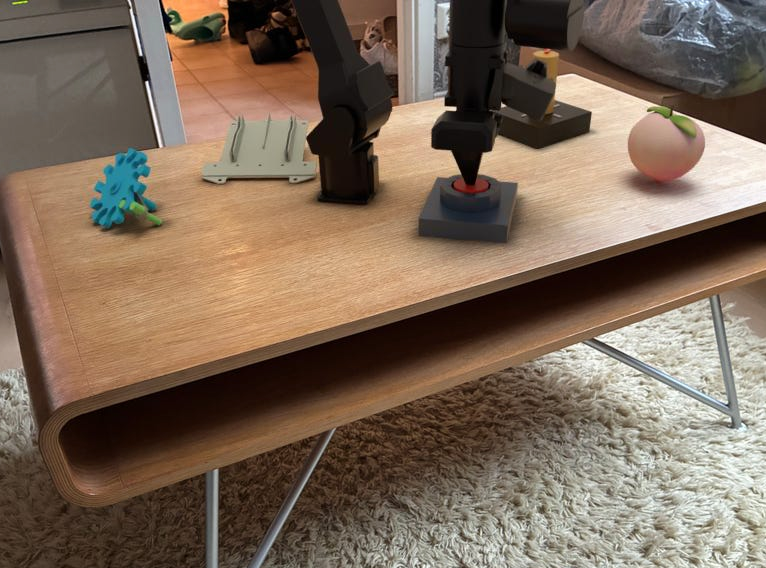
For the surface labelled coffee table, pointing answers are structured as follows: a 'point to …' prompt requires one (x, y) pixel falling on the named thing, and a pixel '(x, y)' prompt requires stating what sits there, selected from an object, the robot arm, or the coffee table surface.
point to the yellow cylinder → (549, 69)
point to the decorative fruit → (665, 144)
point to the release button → (471, 186)
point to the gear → (123, 191)
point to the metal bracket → (263, 151)
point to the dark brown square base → (544, 125)
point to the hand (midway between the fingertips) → (470, 183)
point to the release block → (469, 211)
